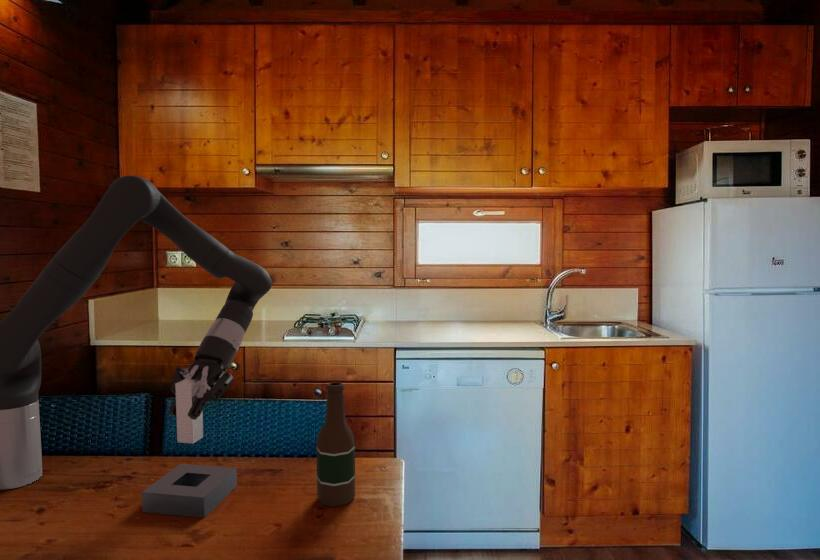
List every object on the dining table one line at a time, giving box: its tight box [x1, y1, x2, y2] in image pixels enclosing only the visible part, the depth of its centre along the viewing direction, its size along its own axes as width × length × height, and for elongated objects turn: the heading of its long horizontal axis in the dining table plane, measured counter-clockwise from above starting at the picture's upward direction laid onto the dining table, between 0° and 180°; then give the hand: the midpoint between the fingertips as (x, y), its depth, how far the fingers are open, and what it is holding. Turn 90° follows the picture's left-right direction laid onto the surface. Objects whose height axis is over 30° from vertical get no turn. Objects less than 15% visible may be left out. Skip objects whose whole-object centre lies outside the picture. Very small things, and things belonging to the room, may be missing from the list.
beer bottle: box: [316, 381, 356, 508], centre depth 109 cm, size 8×8×24 cm
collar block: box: [141, 463, 238, 518], centre depth 109 cm, size 13×13×4 cm
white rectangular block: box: [175, 379, 204, 444], centre depth 108 cm, size 4×4×12 cm
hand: (182, 416), depth 106 cm, fingers closed on white rectangular block, 4 cm apart
